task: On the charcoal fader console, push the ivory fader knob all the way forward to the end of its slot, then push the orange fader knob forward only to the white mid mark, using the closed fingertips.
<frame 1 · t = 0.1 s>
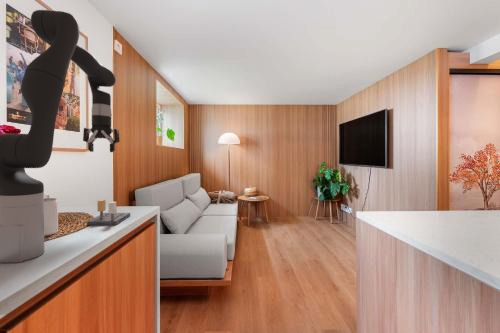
hand: (101, 151, 111), 29 cm above the counter, tool pointing down, fingers open, 8 cm apart
console: (110, 220, 106), on the counter
can: (46, 234, 87), on the counter
fader a: (112, 210, 101), point 5 cm above the counter, slide at 0.0 cm
fader b: (101, 208, 105), point 5 cm above the counter, slide at 0.0 cm
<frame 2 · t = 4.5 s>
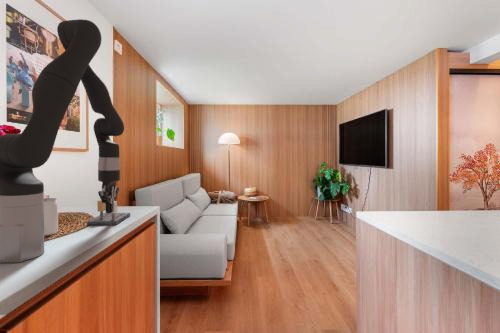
hand: (109, 212, 98), 5 cm above the counter, tool pointing down, fingers closed
fader a: (113, 210, 102), point 5 cm above the counter, slide at 0.6 cm, touching gripper
everything else where it was.
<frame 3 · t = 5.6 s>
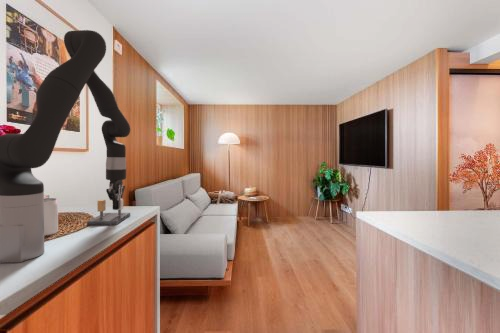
hand: (116, 209, 104), 5 cm above the counter, tool pointing down, fingers closed
fader a: (119, 207, 108), point 5 cm above the counter, slide at 6.9 cm, touching gripper
everything else where it was.
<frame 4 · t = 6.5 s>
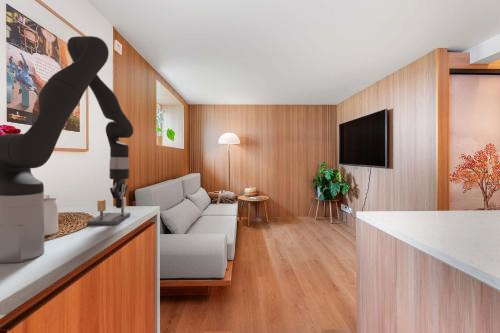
hand: (119, 207, 108), 5 cm above the counter, tool pointing down, fingers closed
fader a: (122, 205, 111), point 5 cm above the counter, slide at 10.1 cm, touching gripper
everything else where it was.
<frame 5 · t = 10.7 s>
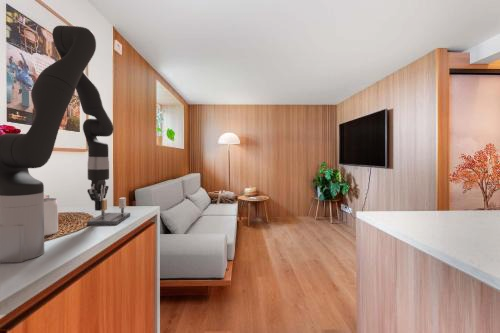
hand: (98, 210, 102), 5 cm above the counter, tool pointing down, fingers closed
fader a: (122, 205, 111), point 5 cm above the counter, slide at 10.0 cm
fader b: (102, 207, 106), point 5 cm above the counter, slide at 1.2 cm, touching gripper
everything else where it was.
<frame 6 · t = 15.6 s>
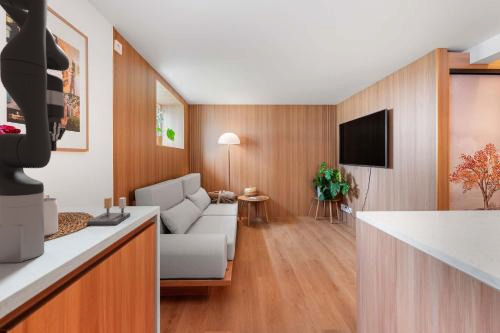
hand: (52, 150, 93), 29 cm above the counter, tool pointing down, fingers closed
fader b: (107, 205, 110), point 5 cm above the counter, slide at 5.9 cm
everything else where it was.
at the end: fader a slide at 10.0 cm; fader b slide at 5.9 cm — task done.
